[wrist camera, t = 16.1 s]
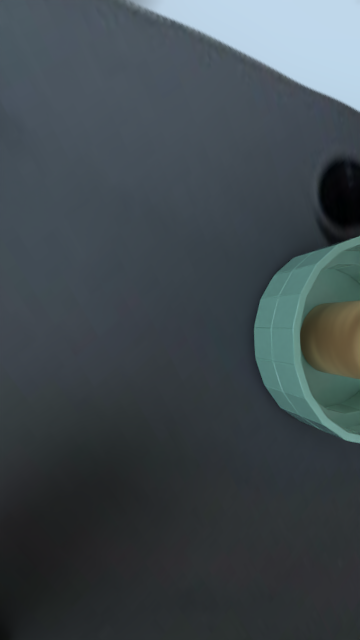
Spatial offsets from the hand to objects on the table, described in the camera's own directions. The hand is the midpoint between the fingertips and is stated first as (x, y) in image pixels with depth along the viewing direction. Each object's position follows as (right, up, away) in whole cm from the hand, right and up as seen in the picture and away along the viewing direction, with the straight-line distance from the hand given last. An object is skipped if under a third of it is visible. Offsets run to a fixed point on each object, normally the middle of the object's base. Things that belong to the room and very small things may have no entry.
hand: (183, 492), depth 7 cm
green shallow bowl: (+11, +3, +17) cm, 20 cm away
